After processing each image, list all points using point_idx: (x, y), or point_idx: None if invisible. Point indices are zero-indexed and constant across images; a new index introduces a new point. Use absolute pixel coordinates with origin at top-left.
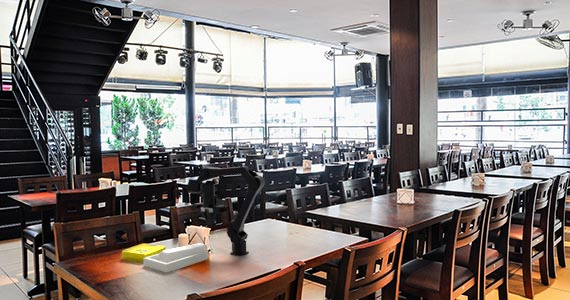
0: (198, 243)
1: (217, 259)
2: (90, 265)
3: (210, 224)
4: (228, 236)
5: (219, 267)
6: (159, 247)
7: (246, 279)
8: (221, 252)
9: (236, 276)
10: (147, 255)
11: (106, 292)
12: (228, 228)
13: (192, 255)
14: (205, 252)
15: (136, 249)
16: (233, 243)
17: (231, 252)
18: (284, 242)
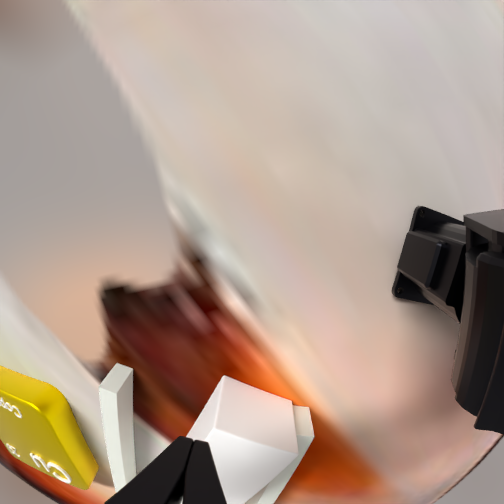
0: (211, 444)
1: (359, 396)
2: (31, 473)
3: (208, 462)
4: (452, 372)
5: (403, 450)
6: (44, 430)
7: (485, 453)
8: (318, 280)
9: (464, 458)
10: (90, 481)
11: None
12: (495, 422)
13: (270, 491)
14: (305, 450)
15: (20, 447)
16: (451, 316)
17: (399, 283)
18: (494, 10)
